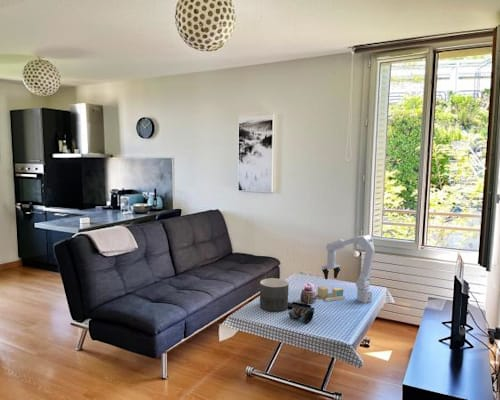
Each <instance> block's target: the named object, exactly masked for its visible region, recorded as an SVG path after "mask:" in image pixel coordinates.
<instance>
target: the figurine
mask: <svg viewBox="0 0 500 400" xmlns="http://www.w3.org/2000/svg"><path fill="white" fill-rule="evenodd" d="M287 314H288V315H289V318H290V319H294V320H300V319H301V320H302V322H303V323H305V324H306V325H307V324H308V323H310V322H311V321H312V320H313V318H314V310H313V309H312V308H311V309H309V308H305V306H303V307H302V308H301V307H292V309H291V310H290V311H288V313H287Z"/></svg>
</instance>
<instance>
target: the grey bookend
mask: <svg viewBox="0 0 500 400" xmlns="http://www.w3.org/2000/svg"><path fill="white" fill-rule="evenodd" d="M316 295H317V296H316V297H317V298H320V299H321V300H323V301H324V302H331V301H336V300H344V299H345V298H346V297H345V296H346V295H343V296H338V297H332V292H331V293H330V292H328V297H327V298H322V297H320V296H318V294H316Z"/></svg>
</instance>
